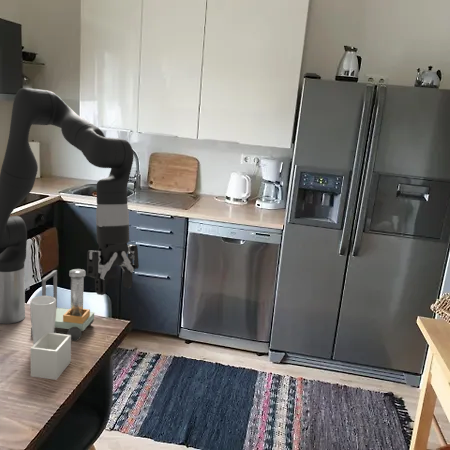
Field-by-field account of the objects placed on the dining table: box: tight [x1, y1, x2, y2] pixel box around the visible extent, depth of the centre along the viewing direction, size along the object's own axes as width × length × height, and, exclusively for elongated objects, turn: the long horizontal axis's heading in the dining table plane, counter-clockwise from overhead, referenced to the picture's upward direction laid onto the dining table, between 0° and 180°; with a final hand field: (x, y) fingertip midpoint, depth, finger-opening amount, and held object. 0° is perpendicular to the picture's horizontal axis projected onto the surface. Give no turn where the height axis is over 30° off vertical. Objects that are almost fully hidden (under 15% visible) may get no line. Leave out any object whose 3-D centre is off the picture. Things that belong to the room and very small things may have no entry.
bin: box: [30, 332, 72, 380], centre depth 122 cm, size 7×9×8 cm
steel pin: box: [68, 268, 87, 316], centre depth 140 cm, size 5×5×15 cm
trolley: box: [41, 269, 95, 342], centre depth 142 cm, size 13×11×18 cm
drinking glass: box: [29, 295, 56, 346], centre depth 131 cm, size 7×7×15 cm
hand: (114, 290), depth 111 cm, fingers open, 8 cm apart
